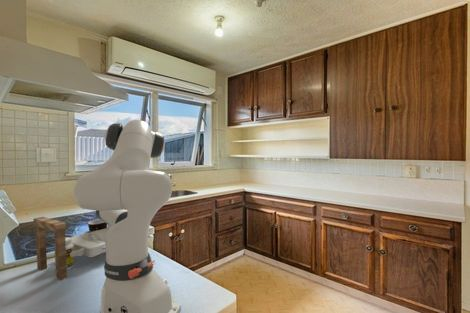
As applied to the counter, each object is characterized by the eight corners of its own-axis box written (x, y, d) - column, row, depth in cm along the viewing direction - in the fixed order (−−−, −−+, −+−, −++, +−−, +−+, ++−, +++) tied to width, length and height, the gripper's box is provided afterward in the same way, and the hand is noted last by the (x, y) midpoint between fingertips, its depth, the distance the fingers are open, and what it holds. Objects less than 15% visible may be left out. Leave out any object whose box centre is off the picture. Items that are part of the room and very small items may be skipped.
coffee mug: (95, 238, 129) (94, 219, 129) (111, 238, 129) (111, 219, 129) (80, 247, 118) (79, 226, 117) (98, 247, 117) (97, 226, 117)
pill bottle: (65, 272, 94) (64, 242, 94) (51, 270, 95) (49, 241, 95) (78, 264, 100) (77, 236, 100) (65, 263, 101) (64, 236, 101)
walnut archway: (68, 277, 90) (66, 222, 89) (59, 280, 87) (56, 225, 87) (44, 265, 99) (42, 216, 99) (35, 269, 97) (33, 218, 96)
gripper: (113, 252, 103) (78, 266, 92) (86, 244, 114) (51, 255, 102) (113, 237, 103) (77, 249, 91) (85, 230, 114) (50, 240, 102)
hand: (63, 252), depth 97 cm, fingers open, 7 cm apart
